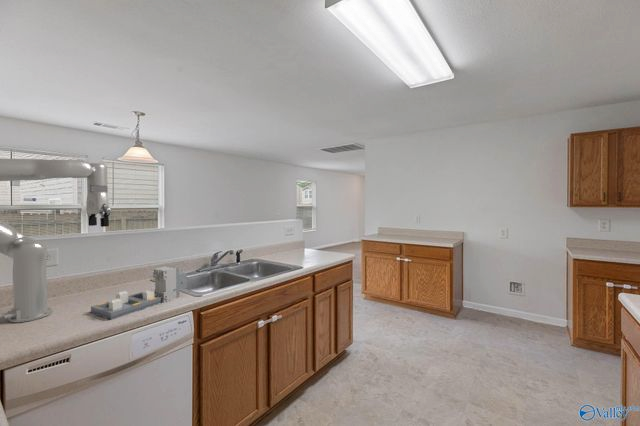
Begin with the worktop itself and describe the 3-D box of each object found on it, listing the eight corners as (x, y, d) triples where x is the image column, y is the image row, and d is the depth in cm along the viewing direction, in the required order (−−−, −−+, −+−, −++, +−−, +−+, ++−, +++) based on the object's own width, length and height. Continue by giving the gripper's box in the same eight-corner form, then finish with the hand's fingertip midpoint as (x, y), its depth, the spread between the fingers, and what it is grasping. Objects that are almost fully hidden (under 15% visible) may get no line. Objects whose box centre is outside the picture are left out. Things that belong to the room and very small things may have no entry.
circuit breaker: (189, 293, 145) (189, 264, 144) (164, 302, 132) (163, 270, 131) (179, 291, 148) (179, 263, 147) (153, 300, 135) (153, 269, 134)
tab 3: (147, 302, 127) (146, 291, 127) (142, 301, 129) (142, 290, 128) (154, 300, 130) (154, 289, 130) (150, 299, 132) (150, 288, 132)
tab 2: (120, 304, 125) (119, 293, 124) (116, 303, 126) (115, 292, 126) (128, 302, 128) (128, 291, 127) (124, 300, 129) (124, 290, 129)
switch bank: (111, 319, 112) (110, 312, 112) (91, 312, 119) (90, 306, 119) (160, 302, 131) (160, 296, 131) (141, 297, 138) (141, 291, 138)
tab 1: (113, 313, 115) (112, 301, 115) (108, 312, 116) (108, 300, 116) (122, 310, 118) (121, 298, 118) (118, 309, 119) (117, 297, 119)
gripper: (78, 189, 133) (79, 225, 134) (99, 189, 126) (100, 227, 126) (96, 190, 140) (97, 224, 140) (117, 190, 132) (118, 226, 133)
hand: (98, 225), depth 133 cm, fingers open, 9 cm apart
